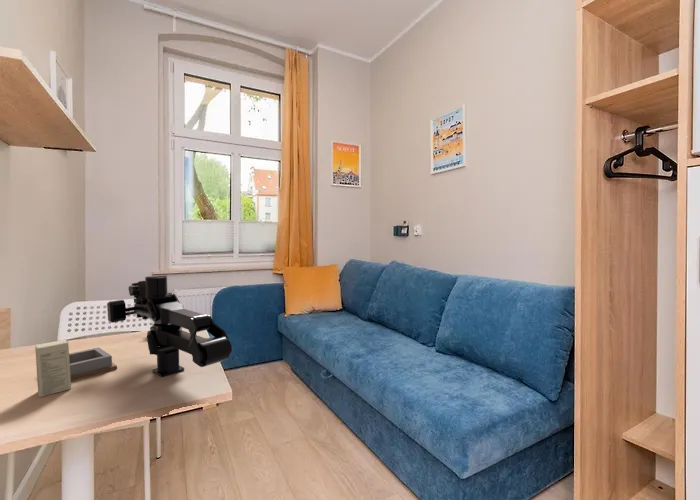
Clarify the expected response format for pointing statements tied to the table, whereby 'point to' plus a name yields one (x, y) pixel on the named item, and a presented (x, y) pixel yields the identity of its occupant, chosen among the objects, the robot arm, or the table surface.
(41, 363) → the skincare box
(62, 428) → the table surface
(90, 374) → the walnut board
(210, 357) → the robot arm
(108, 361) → the square frame
